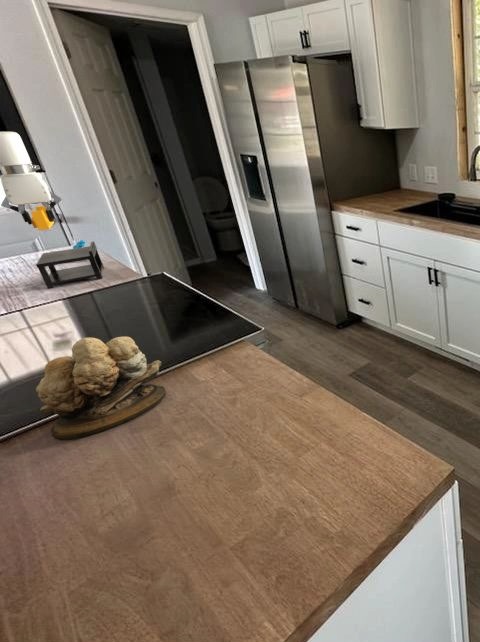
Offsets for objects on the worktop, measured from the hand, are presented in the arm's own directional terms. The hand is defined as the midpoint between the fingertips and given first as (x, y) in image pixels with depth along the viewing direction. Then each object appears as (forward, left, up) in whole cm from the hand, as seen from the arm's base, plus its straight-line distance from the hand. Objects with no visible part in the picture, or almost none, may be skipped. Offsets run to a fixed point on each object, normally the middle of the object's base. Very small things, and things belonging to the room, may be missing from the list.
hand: (41, 221), depth 146 cm
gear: (+3, +20, -21) cm, 29 cm away
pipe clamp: (0, 0, -2) cm, 2 cm away
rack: (+4, -7, -20) cm, 22 cm away
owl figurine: (+16, -115, -21) cm, 117 cm away
